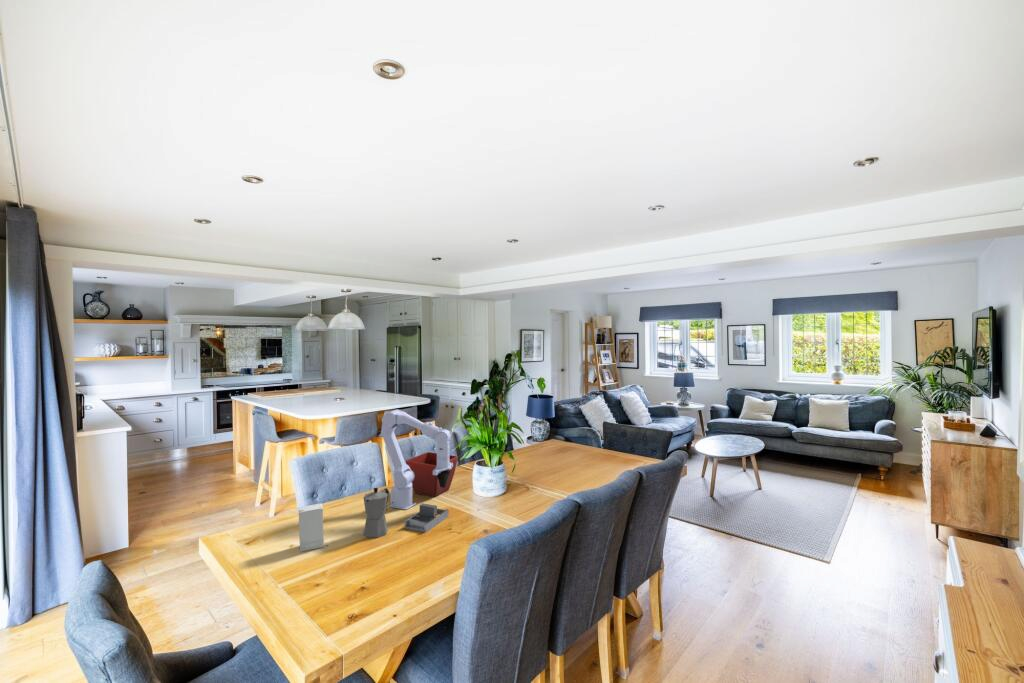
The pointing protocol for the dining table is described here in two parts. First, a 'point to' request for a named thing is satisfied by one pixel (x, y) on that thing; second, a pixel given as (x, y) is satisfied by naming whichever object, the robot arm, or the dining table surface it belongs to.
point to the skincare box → (311, 527)
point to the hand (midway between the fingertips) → (442, 486)
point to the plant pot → (429, 474)
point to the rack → (425, 521)
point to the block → (428, 510)
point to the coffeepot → (375, 513)
